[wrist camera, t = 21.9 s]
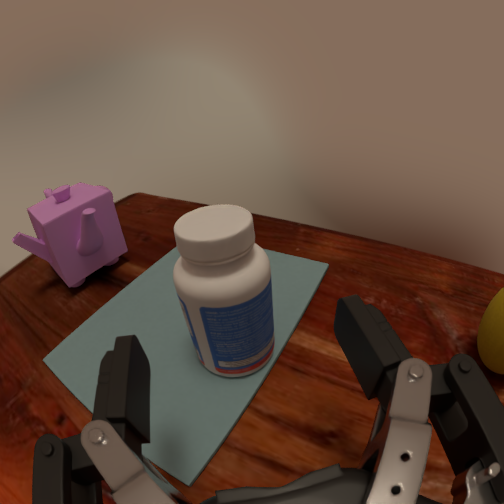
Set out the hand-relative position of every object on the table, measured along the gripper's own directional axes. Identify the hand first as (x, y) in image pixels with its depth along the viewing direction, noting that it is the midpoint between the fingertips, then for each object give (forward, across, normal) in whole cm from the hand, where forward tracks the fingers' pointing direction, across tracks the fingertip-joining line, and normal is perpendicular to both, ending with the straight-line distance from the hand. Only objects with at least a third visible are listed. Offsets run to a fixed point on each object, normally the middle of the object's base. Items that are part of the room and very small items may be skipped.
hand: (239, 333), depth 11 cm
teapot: (+20, +16, +8) cm, 28 cm away
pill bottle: (+6, 0, +8) cm, 10 cm away
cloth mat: (+10, +3, +8) cm, 13 cm away
